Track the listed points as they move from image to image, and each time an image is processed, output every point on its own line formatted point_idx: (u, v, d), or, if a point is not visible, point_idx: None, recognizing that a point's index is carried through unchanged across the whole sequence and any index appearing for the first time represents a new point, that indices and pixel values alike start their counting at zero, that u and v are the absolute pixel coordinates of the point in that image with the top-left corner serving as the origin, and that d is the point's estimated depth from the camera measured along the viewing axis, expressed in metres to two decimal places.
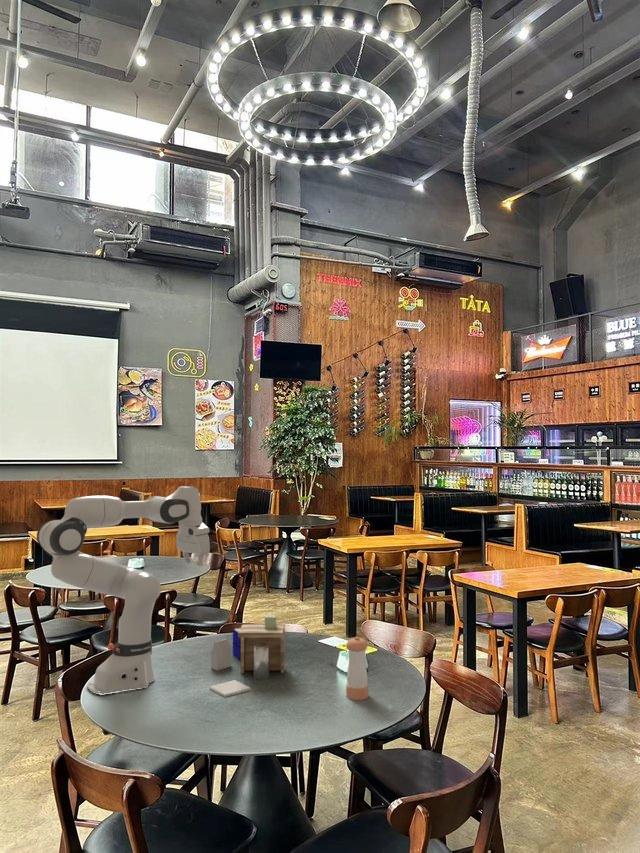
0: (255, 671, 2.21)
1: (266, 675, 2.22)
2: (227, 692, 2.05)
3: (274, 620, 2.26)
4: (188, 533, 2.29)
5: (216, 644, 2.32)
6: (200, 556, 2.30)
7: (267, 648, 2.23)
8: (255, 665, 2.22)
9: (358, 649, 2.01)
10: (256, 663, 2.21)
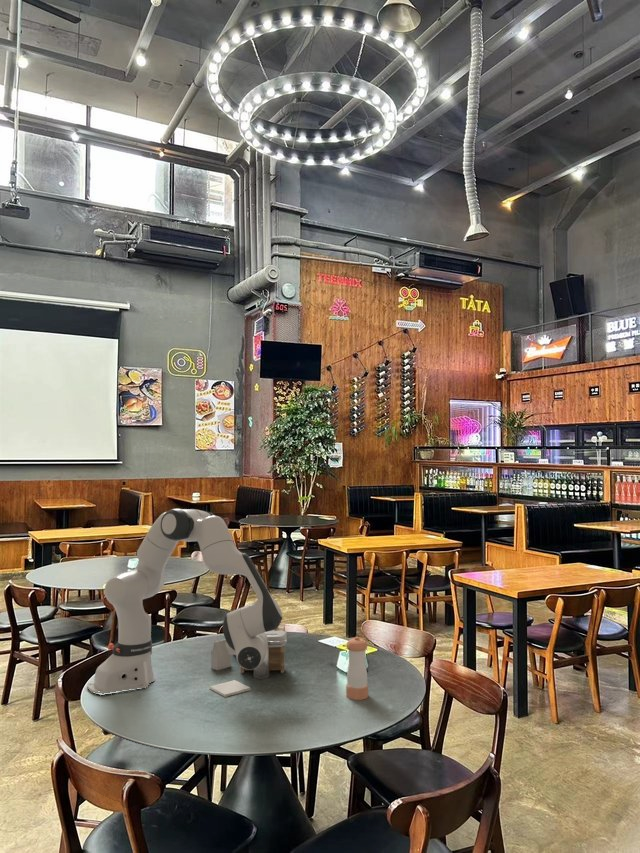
0: (255, 671, 2.21)
1: (266, 675, 2.22)
2: (227, 692, 2.05)
3: None
4: None
5: (216, 644, 2.32)
6: None
7: (267, 648, 2.23)
8: None
9: (358, 649, 2.01)
10: None
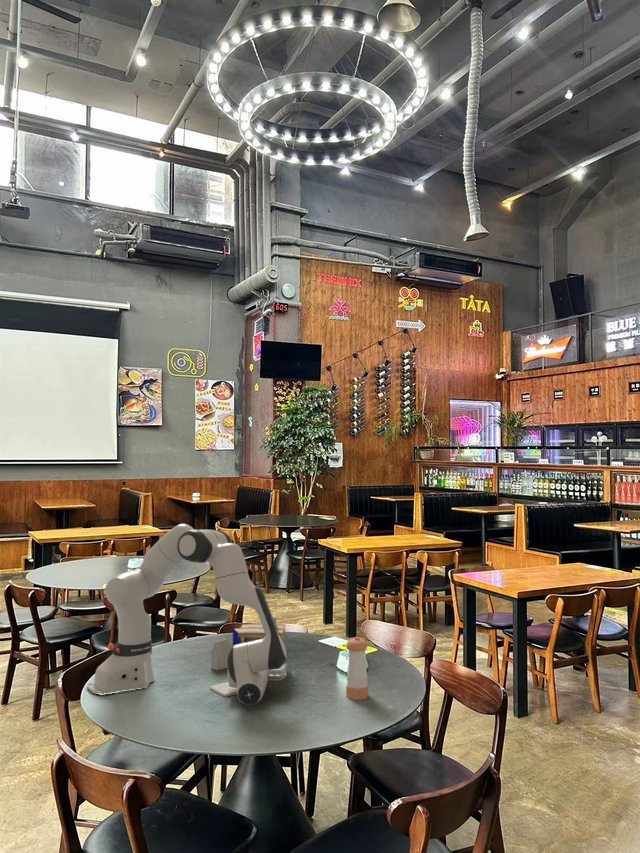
0: None
1: None
2: (227, 692, 2.05)
3: (274, 620, 2.26)
4: None
5: (216, 644, 2.32)
6: None
7: None
8: None
9: (358, 649, 2.01)
10: None
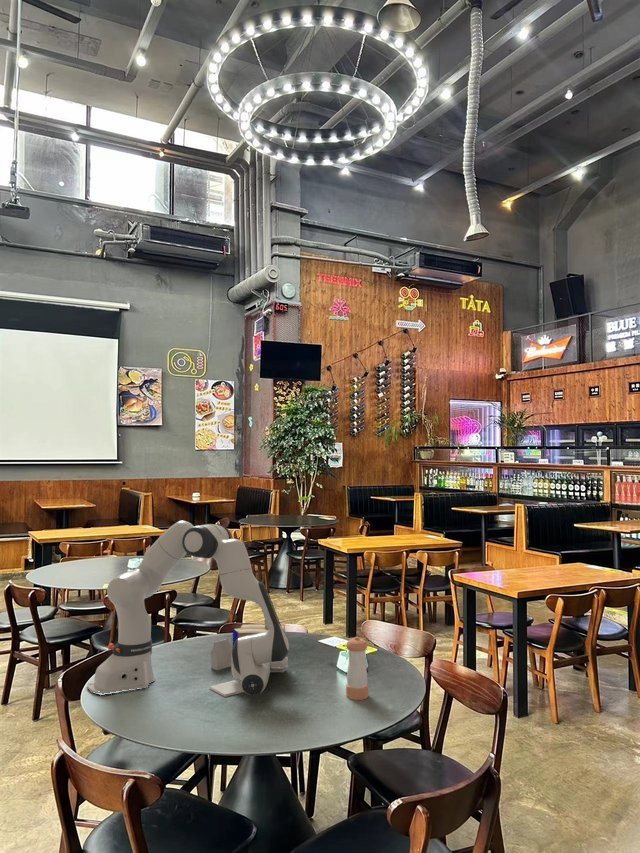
0: None
1: None
2: (227, 692, 2.05)
3: None
4: None
5: (216, 644, 2.32)
6: None
7: None
8: None
9: (358, 649, 2.01)
10: None
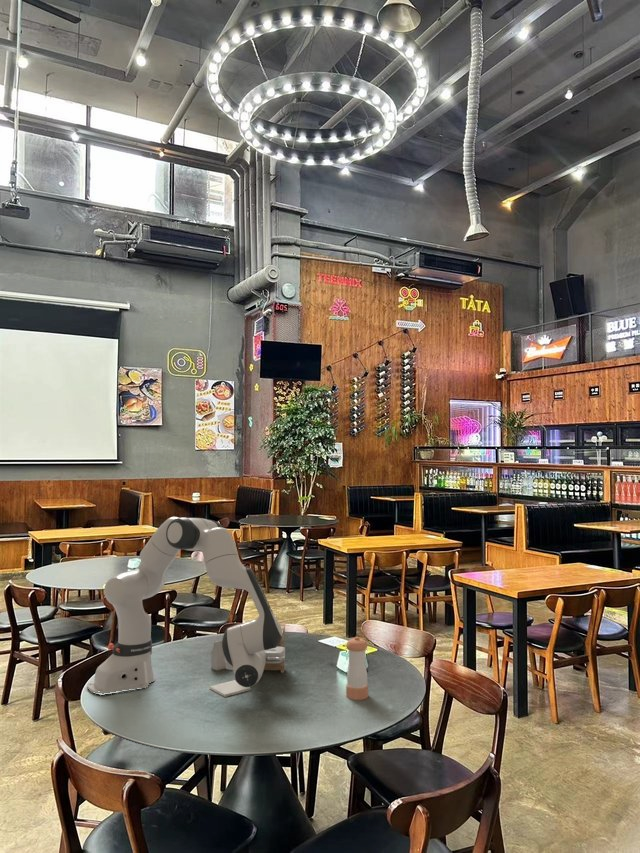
0: None
1: None
2: (227, 692, 2.05)
3: None
4: None
5: (216, 644, 2.32)
6: None
7: None
8: None
9: (358, 649, 2.01)
10: None
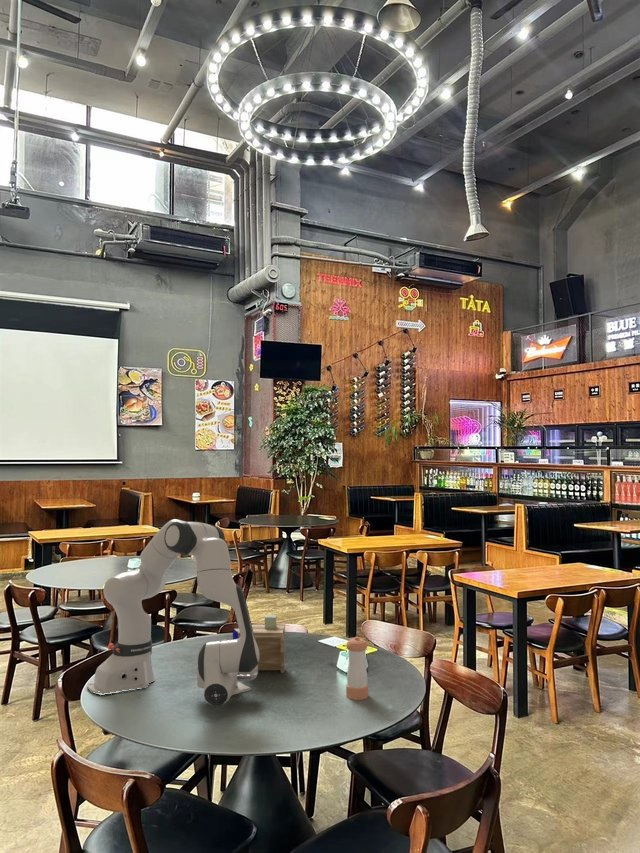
0: None
1: (235, 686, 2.08)
2: None
3: (274, 620, 2.26)
4: None
5: None
6: None
7: None
8: None
9: (358, 649, 2.01)
10: None
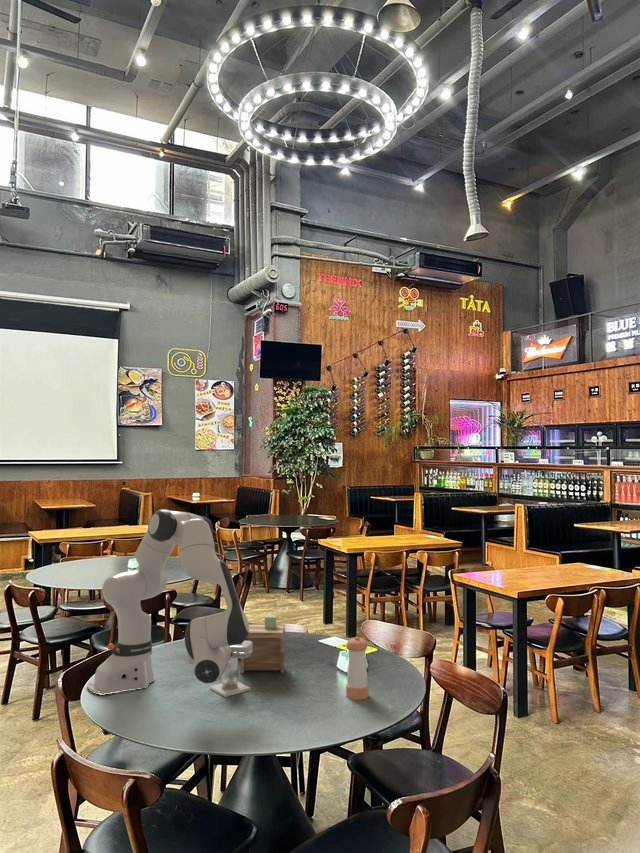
0: (223, 682, 2.08)
1: (235, 686, 2.08)
2: (227, 692, 2.05)
3: (274, 620, 2.26)
4: None
5: None
6: None
7: None
8: (223, 675, 2.08)
9: (358, 649, 2.01)
10: (224, 673, 2.08)
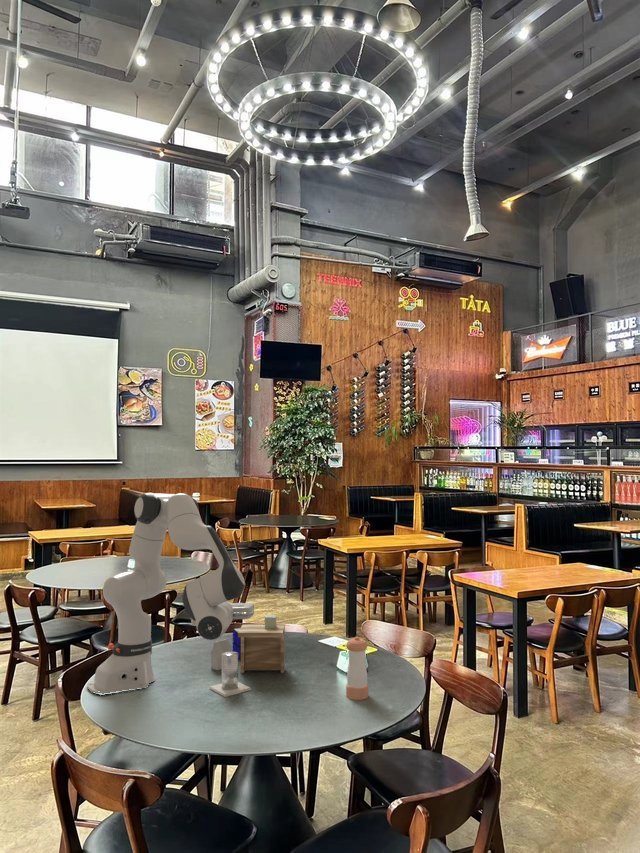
0: (223, 682, 2.08)
1: (235, 686, 2.08)
2: (227, 692, 2.05)
3: (274, 620, 2.26)
4: None
5: (216, 644, 2.32)
6: None
7: (236, 657, 2.09)
8: (223, 676, 2.08)
9: (358, 649, 2.01)
10: (224, 673, 2.08)
